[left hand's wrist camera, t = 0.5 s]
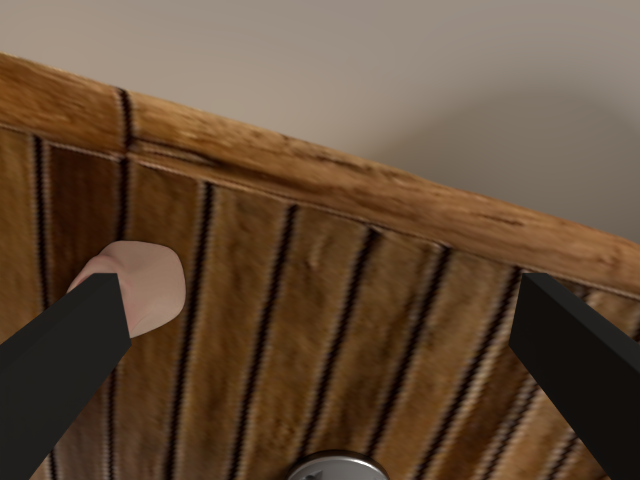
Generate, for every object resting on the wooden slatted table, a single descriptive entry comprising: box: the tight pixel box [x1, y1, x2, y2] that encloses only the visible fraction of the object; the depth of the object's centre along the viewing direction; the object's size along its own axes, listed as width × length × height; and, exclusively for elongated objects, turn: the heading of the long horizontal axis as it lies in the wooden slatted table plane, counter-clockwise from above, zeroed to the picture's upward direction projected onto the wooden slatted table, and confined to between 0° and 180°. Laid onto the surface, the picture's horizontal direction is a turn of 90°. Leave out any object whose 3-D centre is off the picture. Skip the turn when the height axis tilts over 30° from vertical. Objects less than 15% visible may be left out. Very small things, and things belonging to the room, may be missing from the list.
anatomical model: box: [67, 241, 186, 338], centre depth 41 cm, size 13×4×12 cm
